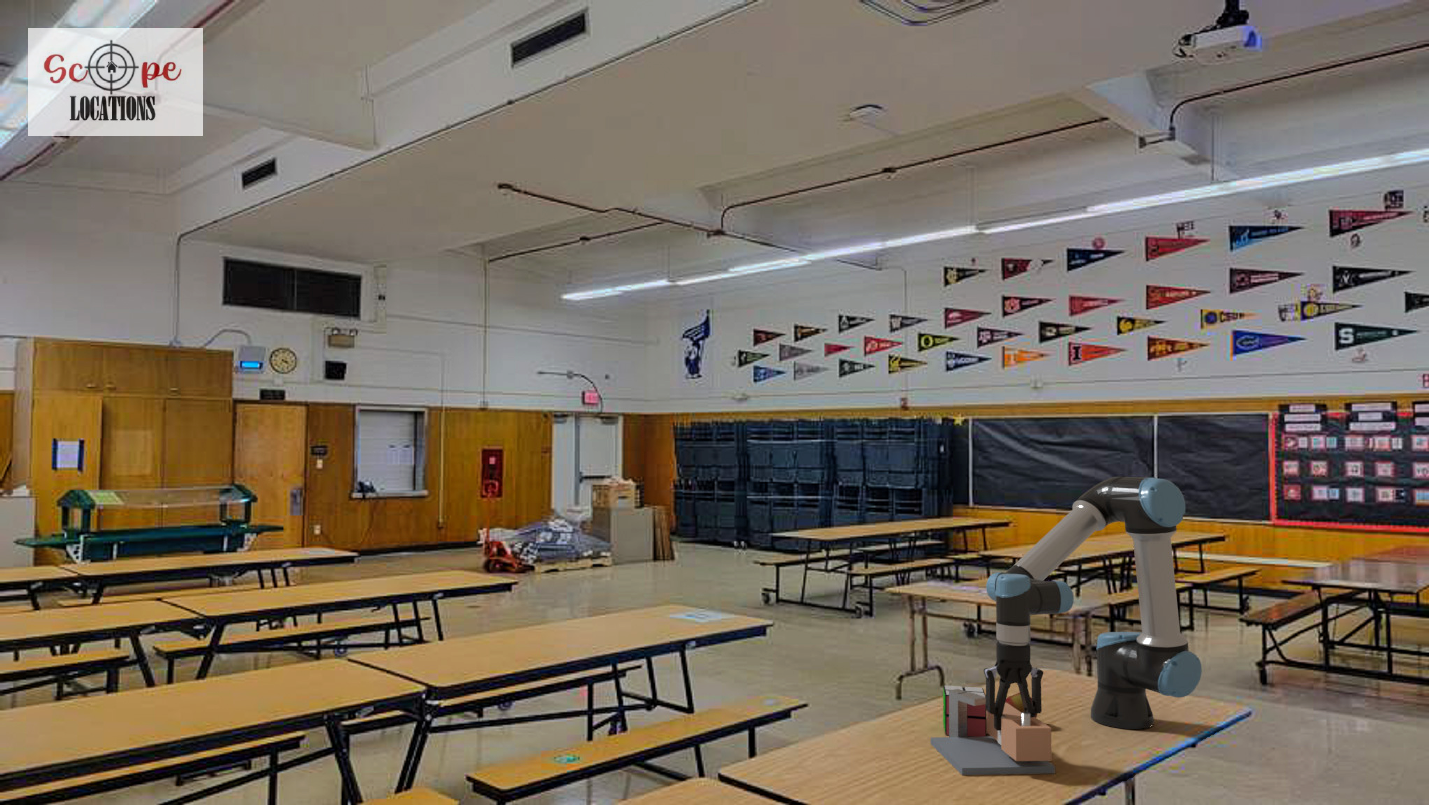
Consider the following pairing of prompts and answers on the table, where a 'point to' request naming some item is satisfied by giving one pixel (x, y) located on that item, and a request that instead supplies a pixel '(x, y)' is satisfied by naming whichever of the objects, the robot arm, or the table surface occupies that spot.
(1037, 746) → the tan socket bar
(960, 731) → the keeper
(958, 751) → the board
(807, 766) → the table surface
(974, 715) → the puzzle cube
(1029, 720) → the peg
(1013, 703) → the apple
